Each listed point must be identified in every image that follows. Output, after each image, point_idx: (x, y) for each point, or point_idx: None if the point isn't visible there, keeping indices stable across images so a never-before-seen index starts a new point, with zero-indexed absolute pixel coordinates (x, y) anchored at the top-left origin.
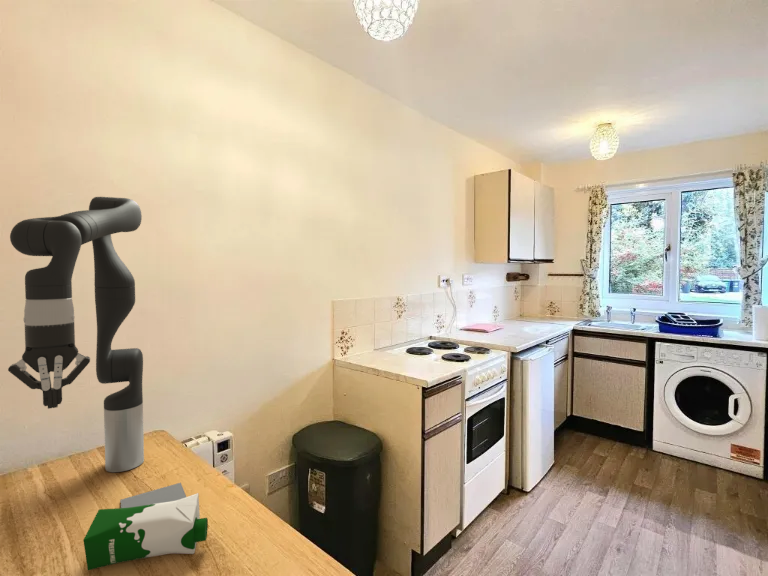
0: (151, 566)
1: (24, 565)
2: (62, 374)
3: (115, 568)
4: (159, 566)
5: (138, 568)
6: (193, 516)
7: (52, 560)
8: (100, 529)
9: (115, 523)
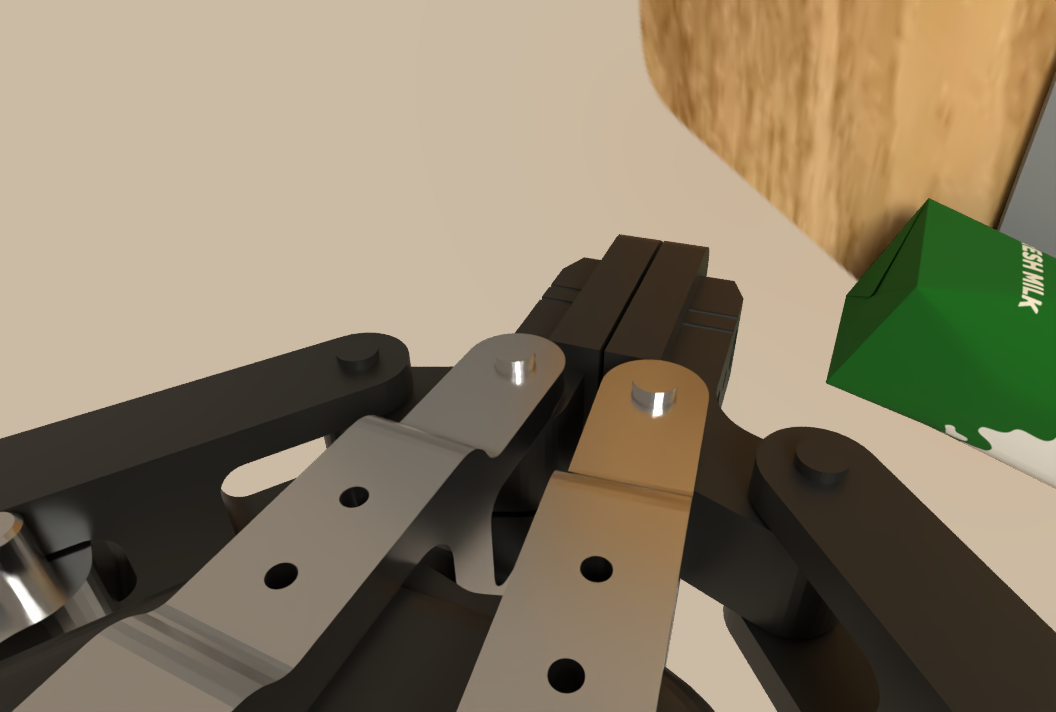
0: None
1: (690, 105)
2: (688, 521)
3: None
4: None
5: None
6: None
7: (767, 140)
8: (883, 394)
9: (936, 414)
